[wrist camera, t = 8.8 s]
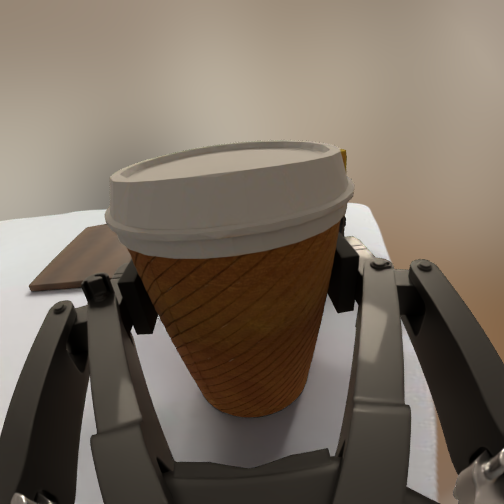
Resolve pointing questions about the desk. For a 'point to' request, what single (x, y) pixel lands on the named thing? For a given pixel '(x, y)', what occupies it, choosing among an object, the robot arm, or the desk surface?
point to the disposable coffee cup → (237, 259)
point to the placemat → (83, 260)
